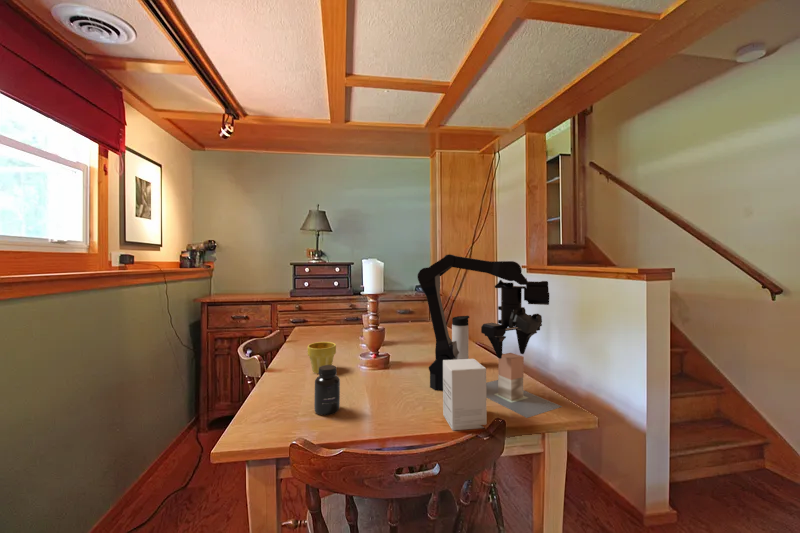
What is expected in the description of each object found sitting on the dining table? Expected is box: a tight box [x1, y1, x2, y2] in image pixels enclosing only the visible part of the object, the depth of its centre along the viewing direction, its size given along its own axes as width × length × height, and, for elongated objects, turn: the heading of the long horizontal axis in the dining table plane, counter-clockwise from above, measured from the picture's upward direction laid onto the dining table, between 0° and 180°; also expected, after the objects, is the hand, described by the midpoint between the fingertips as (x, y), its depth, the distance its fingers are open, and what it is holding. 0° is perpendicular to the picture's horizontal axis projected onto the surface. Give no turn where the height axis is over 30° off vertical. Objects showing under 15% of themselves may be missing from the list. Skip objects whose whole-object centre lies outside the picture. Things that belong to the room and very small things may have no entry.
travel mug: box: [451, 315, 470, 359], centre depth 131 cm, size 6×7×20 cm
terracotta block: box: [497, 352, 525, 380], centre depth 101 cm, size 5×5×6 cm
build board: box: [486, 379, 563, 419], centre depth 101 cm, size 14×24×1 cm, turn 29°
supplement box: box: [442, 358, 488, 431], centre depth 87 cm, size 9×9×15 cm
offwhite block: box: [497, 374, 524, 401], centre depth 101 cm, size 5×5×6 cm
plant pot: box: [307, 341, 337, 374], centre depth 127 cm, size 10×10×10 cm
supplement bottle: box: [313, 364, 341, 416], centre depth 93 cm, size 7×7×12 cm
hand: (511, 356), depth 101 cm, fingers open, 9 cm apart
